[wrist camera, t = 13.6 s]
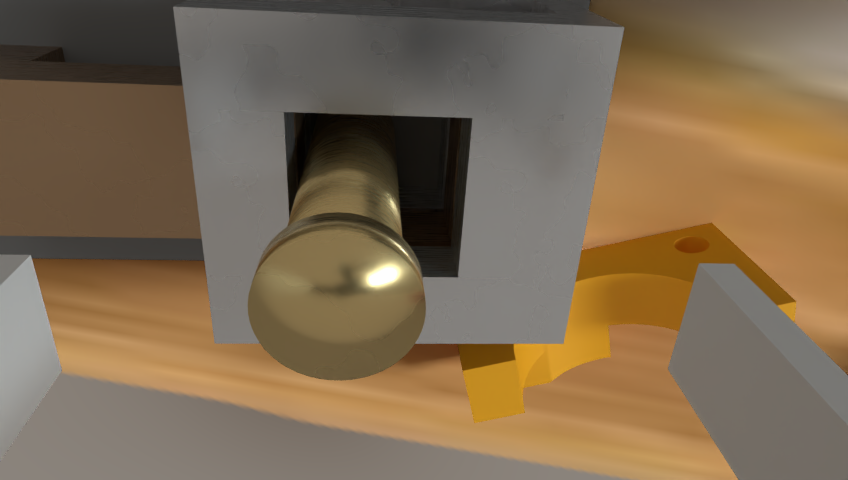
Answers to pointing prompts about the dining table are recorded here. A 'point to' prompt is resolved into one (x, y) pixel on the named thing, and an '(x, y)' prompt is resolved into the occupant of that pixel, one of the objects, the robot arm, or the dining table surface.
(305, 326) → the brass pin
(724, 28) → the dining table surface
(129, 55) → the mat
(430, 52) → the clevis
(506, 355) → the pipe clamp
